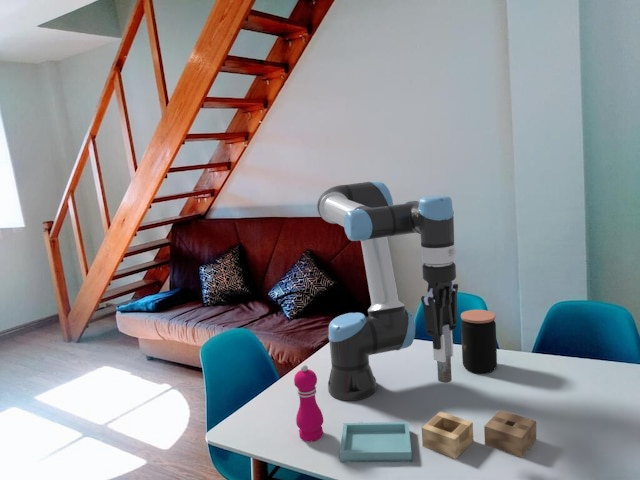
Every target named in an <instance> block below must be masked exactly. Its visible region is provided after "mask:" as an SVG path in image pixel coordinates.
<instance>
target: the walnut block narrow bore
mask: <svg viewBox="0 0 640 480" xmlns="http://www.w3.org/2000/svg"><path fill="white" fill-rule="evenodd" d="M483 428H484V445H485V446H487V447H491V448H492V449H493V448H494V449H497V450H499V451H502V452H505V453H507V454H509V455H513V456H516V457H519V458H523V457H524V456H525V454H526V453H527V452H528V451H529V450H530V448H531V447H532V446H533V445H534V443H535V442H536V440H537V420H536V419H533V418H529V417H525V416H521V415H520V414H519V415H518V414H514V413H511V412H508V411H506V410H505V411H504V410H502V409H499V410H498V411H497V412H496V413H495V414H494V415H493V416H492V417H491V418H490V419H489V421H487V423H486V424H484V427H483Z"/></svg>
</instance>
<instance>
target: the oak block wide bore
mask: <svg viewBox="0 0 640 480" xmlns="http://www.w3.org/2000/svg"><path fill="white" fill-rule="evenodd" d="M421 441H422V442H421V443H422V447H424V448H427V449H430V450H432V451H434V452H437V453H440V454H443V455H445V456H447V457H450V458H451V459H452V458H453V459H454V460H456V459H457V458H459V456H460V455H462V454H463V452H464V451H465V450H466V449H467V448H468V447H469V446H470V445H471V444H472V443H473V442H474V423H473V421H470V420H467V419H464V418H461V417H458V416H455V415H451V414H449V413H445V412H444V411H443V412H442V411H439V412H438V413H436V415H434V416H433V417H432V418H431V419H430V420H429V421H427V422H426V423H425V424H423V426H422V427H421Z"/></svg>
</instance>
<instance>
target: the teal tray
mask: <svg viewBox="0 0 640 480" xmlns="http://www.w3.org/2000/svg"><path fill="white" fill-rule="evenodd" d="M409 425H410V424H409V421H394V422H393V421H391V422H390V421H389V422H387V421H386V422H384V421H383V422H343V425H342V432H341V442H340V446H339V447H340V449H339V460H340V463H379V462H380V463H385V462H386V463H388V462H389V463H391V462H392V463H393V462H394V463H398V462H400V463H401V462H408V463H409V462H413V459H412V457H413V456H412V446H411V436H410V435H411V434H410V427H409Z"/></svg>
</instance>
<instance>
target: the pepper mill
mask: <svg viewBox="0 0 640 480" xmlns="http://www.w3.org/2000/svg"><path fill="white" fill-rule="evenodd" d="M317 383H318V377H317V375H316V372H315V371H313V370H312V369H309V368H308V366H307V364H302V365H301V366H300V370H298V371H297V372H296V373H295V374H294V377H293V384H294V386H295V387H296V388H297V389H296V391H297V393H296V394H297V396H299V407H298V410H297V413H296V417H295V421H296V422H295V424H296V426H297V427H298V428H299V430H298V432H299V434H298V435H299V438H300V439H301V440H302V441H303V440H304V442H307V441H308V442H311V441H312V442H316V441H318V440H320V439H322V437H323V434H324V433H323V432H324V431H323V424H324V417H323V412H322V410H321V409H320V407H319V404H318V403H317V400H316V394H317V387H316V385H317ZM312 442H311V443H312Z"/></svg>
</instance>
